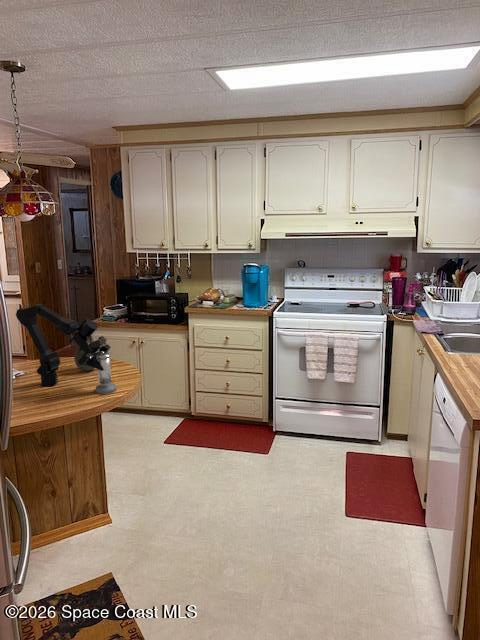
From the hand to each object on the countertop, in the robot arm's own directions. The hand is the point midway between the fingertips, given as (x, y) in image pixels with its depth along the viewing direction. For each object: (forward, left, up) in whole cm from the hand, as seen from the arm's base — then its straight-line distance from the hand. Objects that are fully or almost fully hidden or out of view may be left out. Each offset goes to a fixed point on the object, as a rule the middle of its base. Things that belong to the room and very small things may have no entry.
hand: (106, 368), depth 212 cm
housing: (-1, 0, -7) cm, 7 cm away
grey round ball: (-18, +31, -11) cm, 38 cm away
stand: (-1, 0, -11) cm, 11 cm away
